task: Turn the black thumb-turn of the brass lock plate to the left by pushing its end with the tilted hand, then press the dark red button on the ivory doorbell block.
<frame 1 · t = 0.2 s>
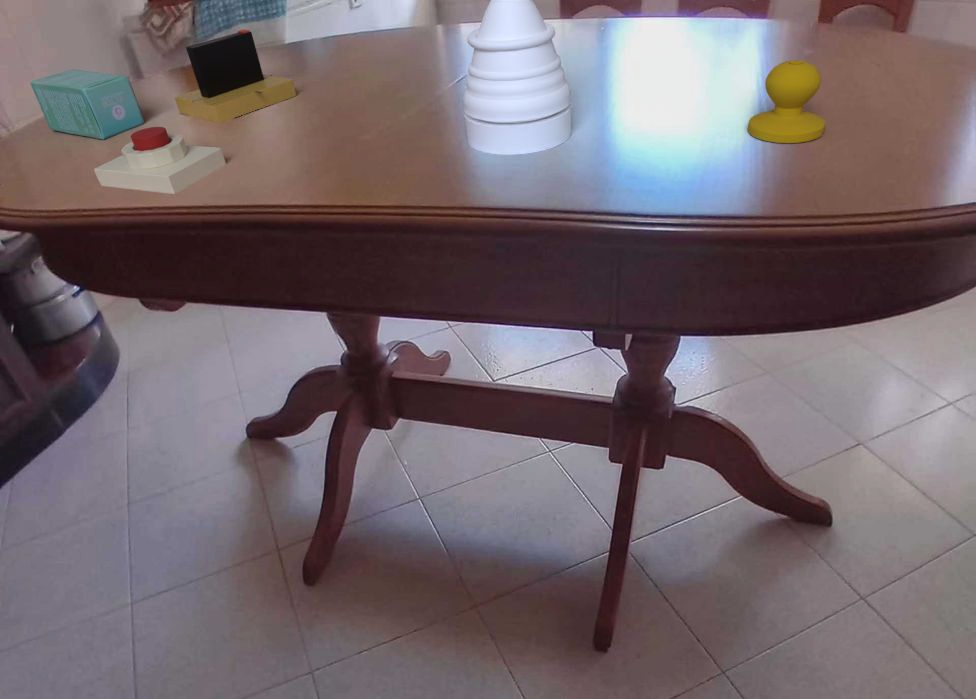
lock knob: (226, 63, 105), point 6 cm above the table, hinge at 0.0°
honey pot: (519, 136, 86), on the table
box: (99, 129, 105), on the table
bell block: (164, 175, 86), on the table
bell button: (150, 139, 83), point 4 cm above the table, slide at 0.1 cm
doorknob: (784, 132, 79), on the table
lock plate: (238, 104, 108), on the table
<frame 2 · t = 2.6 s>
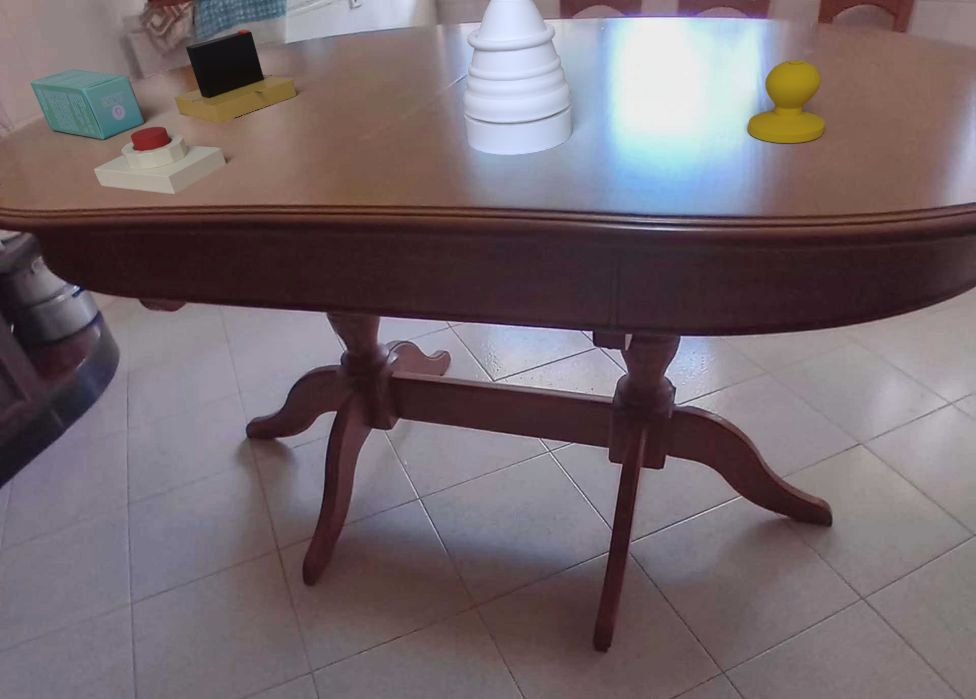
nothing on the table moved.
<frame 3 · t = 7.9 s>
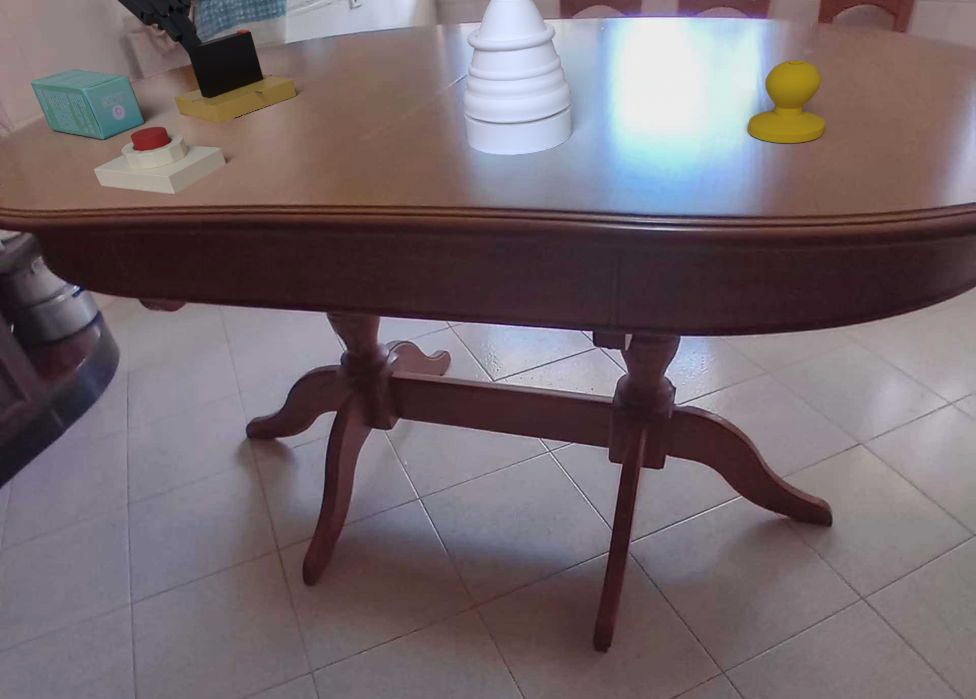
hand: (200, 54, 103), 8 cm above the table, tool tilted 45°, fingers closed
lock knob: (226, 63, 105), point 6 cm above the table, hinge at 2.3°, touching gripper
everything else where it was.
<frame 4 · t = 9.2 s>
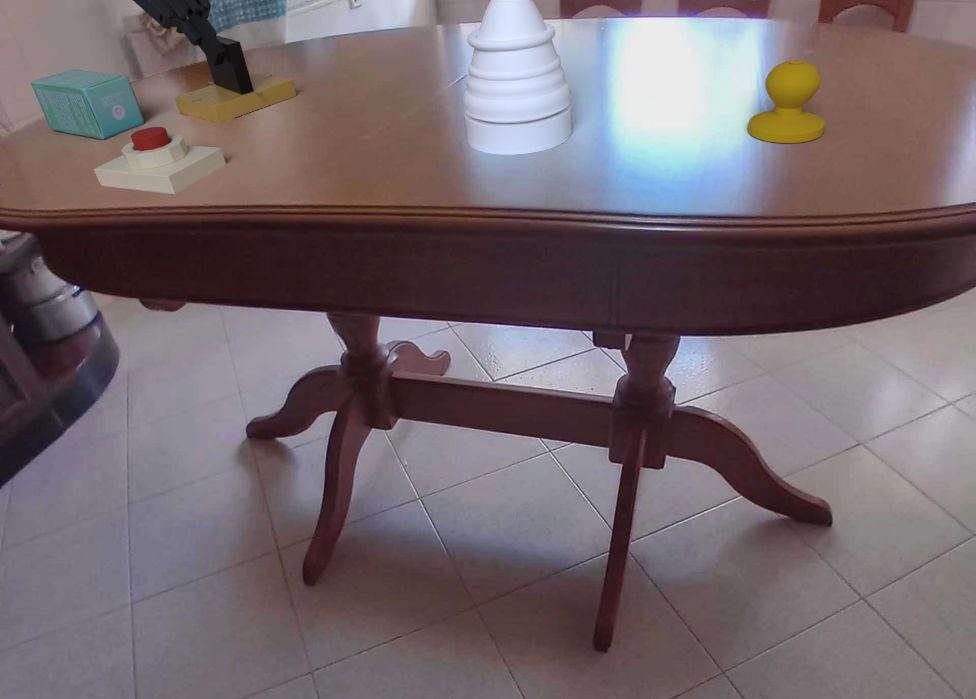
hand: (220, 58, 101), 8 cm above the table, tool tilted 45°, fingers closed
lock knob: (226, 63, 105), point 6 cm above the table, hinge at 80.5°, touching gripper
everything else where it was.
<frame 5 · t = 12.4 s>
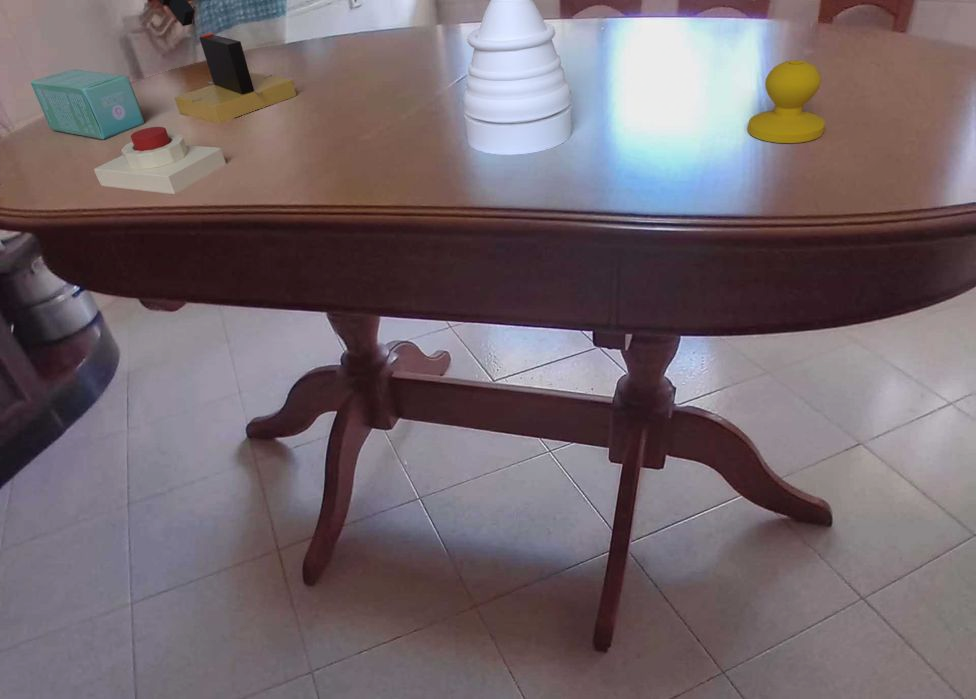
hand: (188, 18, 100), 13 cm above the table, tool tilted 45°, fingers closed
lock knob: (226, 63, 105), point 6 cm above the table, hinge at 81.6°
everything else where it was.
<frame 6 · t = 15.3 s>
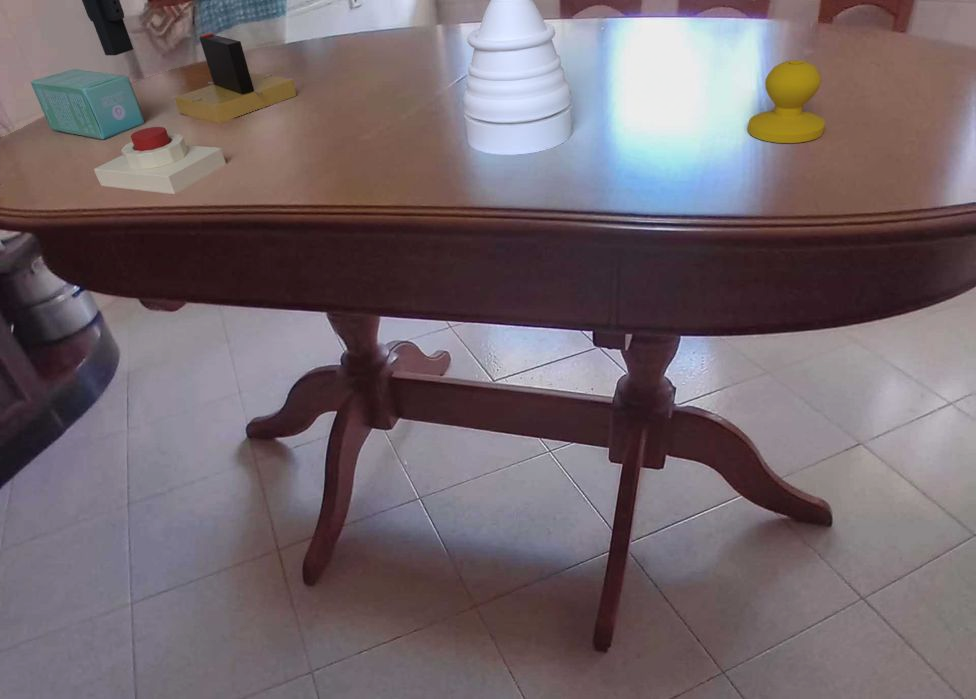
hand: (119, 52, 78), 14 cm above the table, tool pointing down, fingers closed
nothing on the table moved.
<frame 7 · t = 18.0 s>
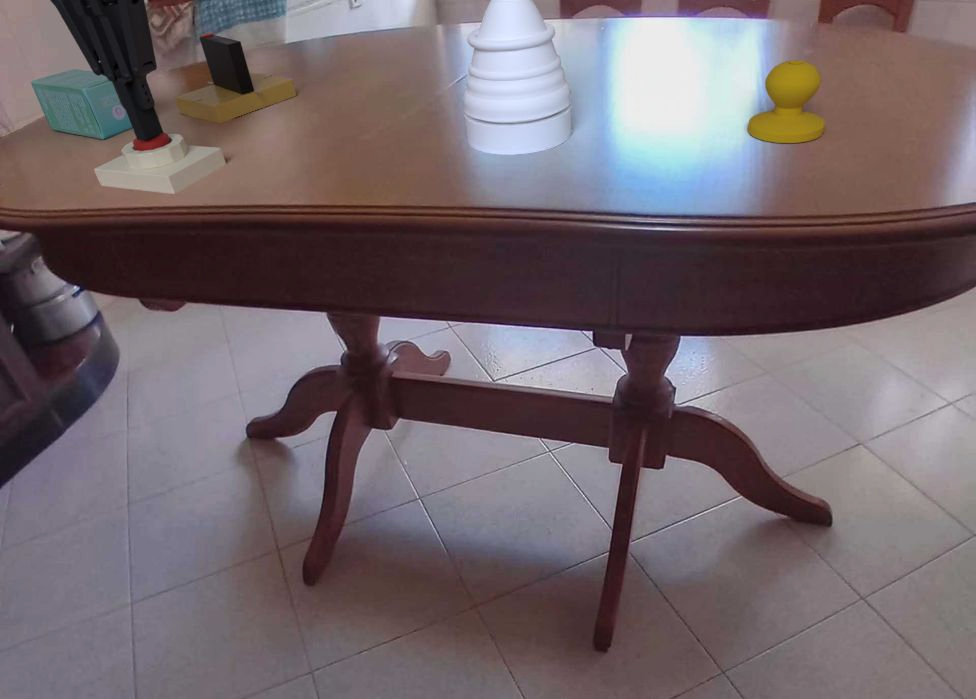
hand: (150, 135, 83), 5 cm above the table, tool pointing down, fingers closed
bell button: (153, 145, 84), point 4 cm above the table, slide at -0.6 cm, touching gripper
everything else where it was.
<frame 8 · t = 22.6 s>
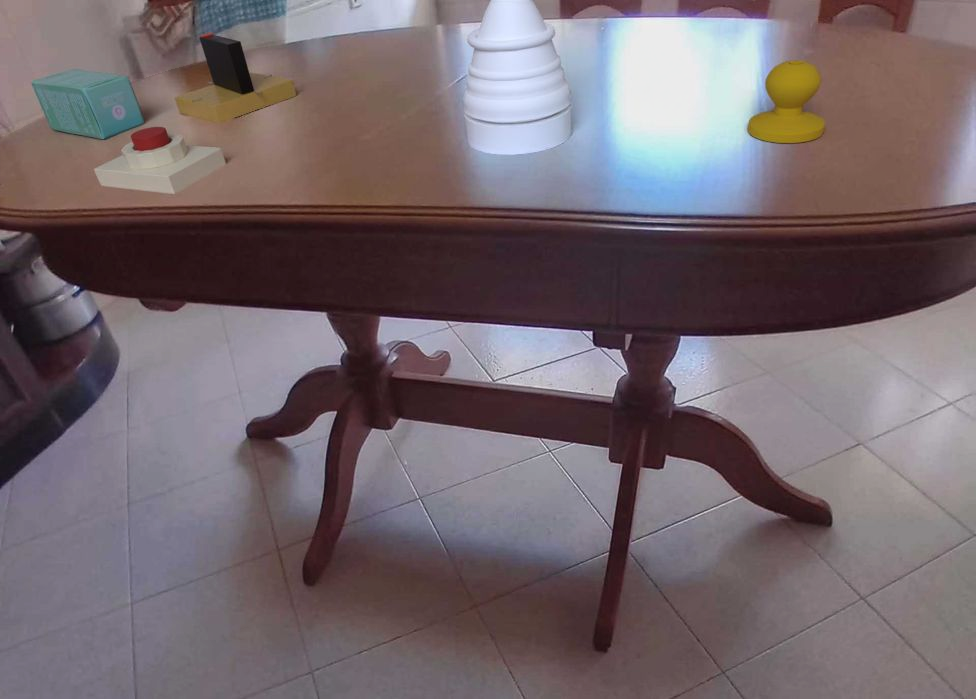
bell button: (150, 139, 83), point 4 cm above the table, slide at 0.1 cm
everything else where it was.
at the end: lock knob at +82° (first picture: +0°); bell button pushed in 1.0 cm at the most during the clip, back to where it started at the end; bell button slide at 0.1 cm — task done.
